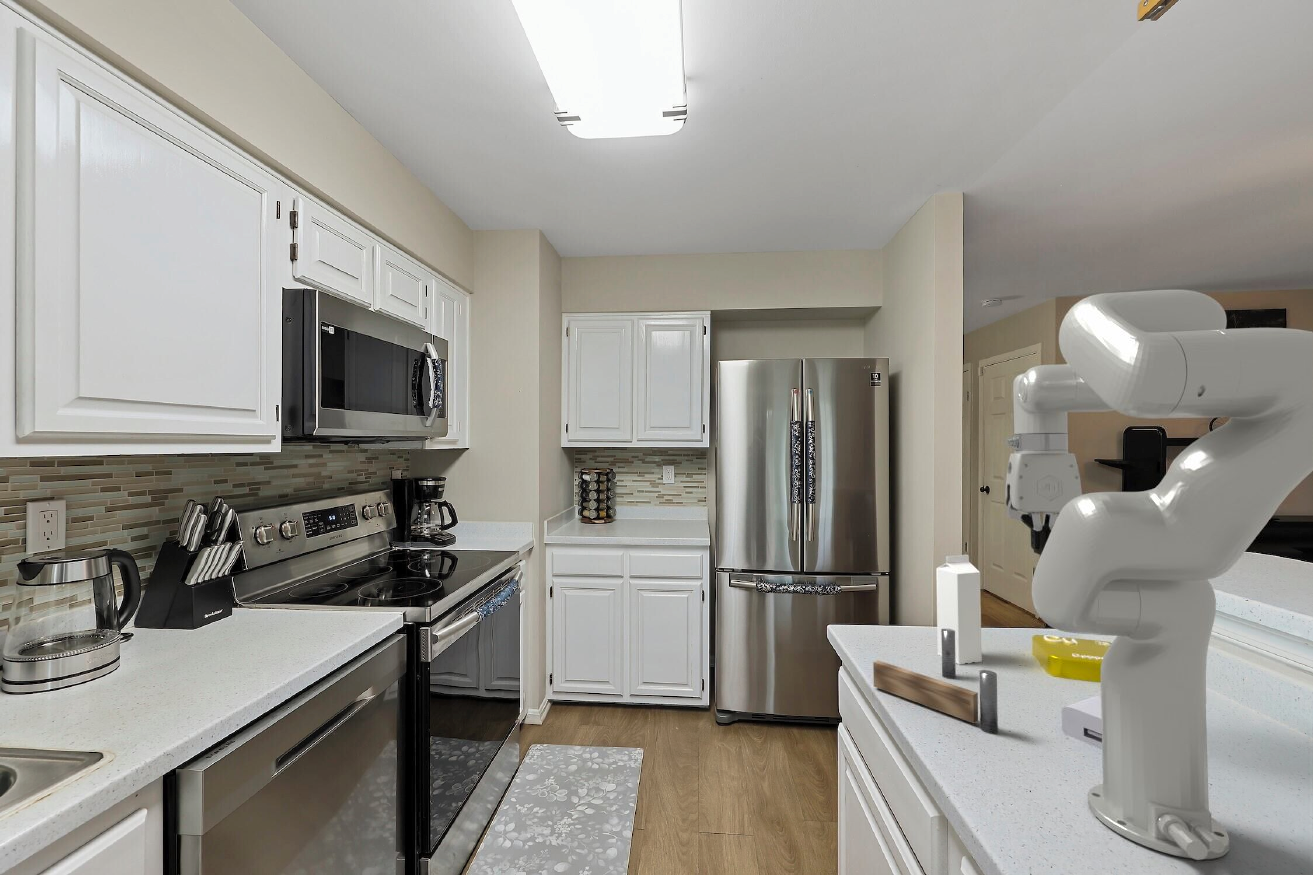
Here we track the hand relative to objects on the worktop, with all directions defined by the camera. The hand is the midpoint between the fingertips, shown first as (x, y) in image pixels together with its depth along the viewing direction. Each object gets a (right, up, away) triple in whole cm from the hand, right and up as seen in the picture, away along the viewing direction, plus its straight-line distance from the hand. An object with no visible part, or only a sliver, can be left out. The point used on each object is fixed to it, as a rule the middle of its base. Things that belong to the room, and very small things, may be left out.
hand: (1042, 553), depth 96 cm
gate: (-19, -27, +4) cm, 33 cm away
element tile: (+22, -28, +20) cm, 41 cm away
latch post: (-7, -28, +16) cm, 33 cm away
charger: (+7, -27, -7) cm, 29 cm away
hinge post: (-12, -27, -5) cm, 30 cm away
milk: (0, -28, +26) cm, 38 cm away
